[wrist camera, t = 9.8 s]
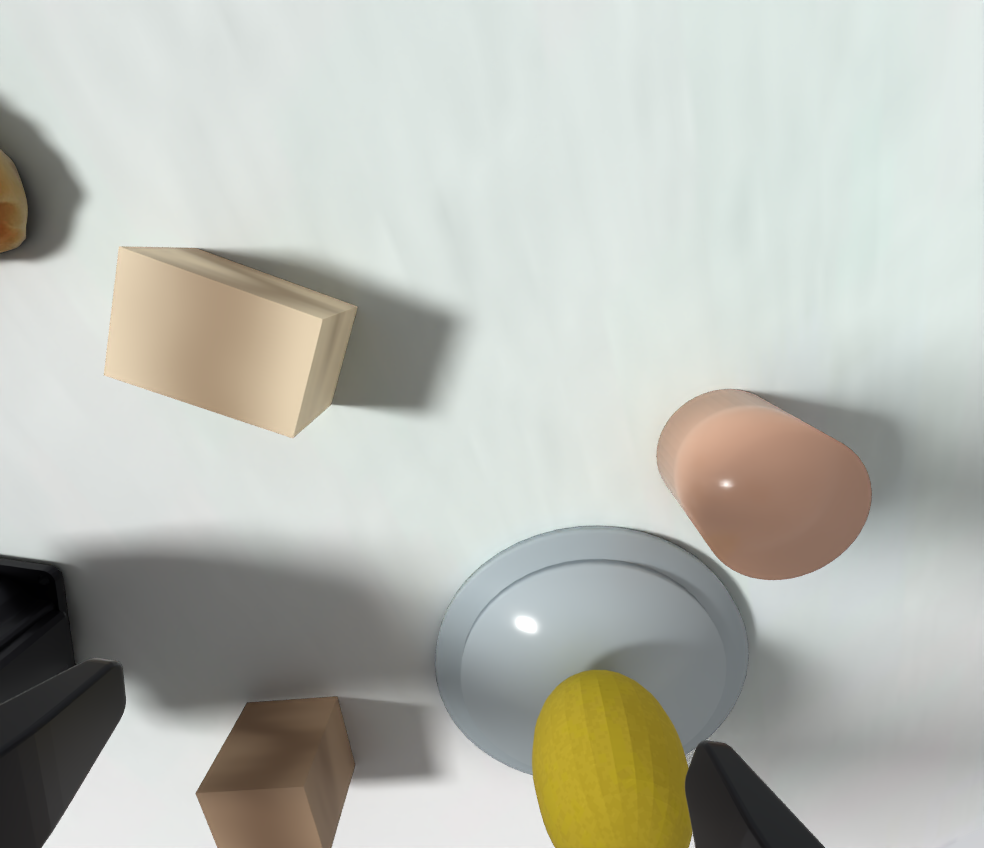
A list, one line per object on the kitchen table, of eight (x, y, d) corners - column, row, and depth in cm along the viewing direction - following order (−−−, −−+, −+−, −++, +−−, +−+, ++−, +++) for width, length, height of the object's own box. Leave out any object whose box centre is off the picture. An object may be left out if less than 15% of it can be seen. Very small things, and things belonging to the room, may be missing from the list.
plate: (421, 751, 26) (417, 774, 24) (457, 503, 21) (454, 517, 20) (694, 787, 26) (702, 811, 25) (785, 551, 22) (801, 568, 20)
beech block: (180, 351, 20) (103, 375, 16) (198, 247, 18) (119, 246, 15) (332, 403, 20) (292, 438, 16) (358, 306, 19) (322, 318, 15)
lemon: (678, 692, 22) (765, 914, 15) (572, 744, 24) (603, 976, 16) (611, 605, 21) (669, 801, 14) (503, 666, 22) (500, 877, 15)
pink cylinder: (643, 497, 21) (683, 568, 16) (675, 379, 19) (730, 420, 15) (761, 514, 21) (836, 590, 16) (802, 399, 20) (898, 446, 15)
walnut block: (270, 768, 26) (225, 868, 22) (247, 701, 25) (195, 793, 21) (355, 763, 26) (327, 862, 22) (337, 694, 25) (303, 786, 20)
